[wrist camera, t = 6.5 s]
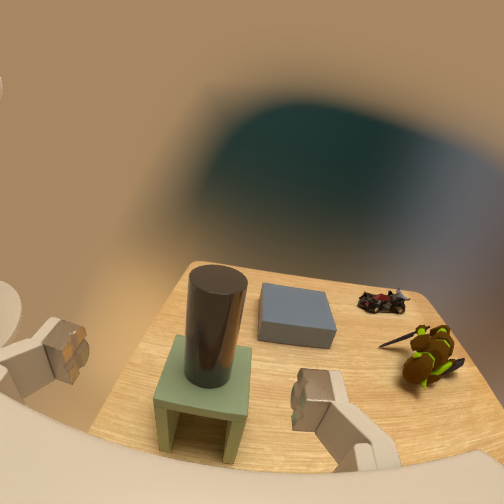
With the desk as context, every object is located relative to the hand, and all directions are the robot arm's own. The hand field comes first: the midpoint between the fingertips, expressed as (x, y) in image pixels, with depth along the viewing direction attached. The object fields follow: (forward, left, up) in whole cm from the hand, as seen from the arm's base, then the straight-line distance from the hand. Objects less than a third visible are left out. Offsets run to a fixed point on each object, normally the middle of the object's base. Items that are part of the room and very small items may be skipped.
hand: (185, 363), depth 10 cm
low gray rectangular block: (+12, +36, -23) cm, 45 cm away
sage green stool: (0, +12, -23) cm, 26 cm away
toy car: (+33, +46, -23) cm, 61 cm away
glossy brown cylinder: (0, +12, -13) cm, 18 cm away
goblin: (+34, +26, -23) cm, 49 cm away
